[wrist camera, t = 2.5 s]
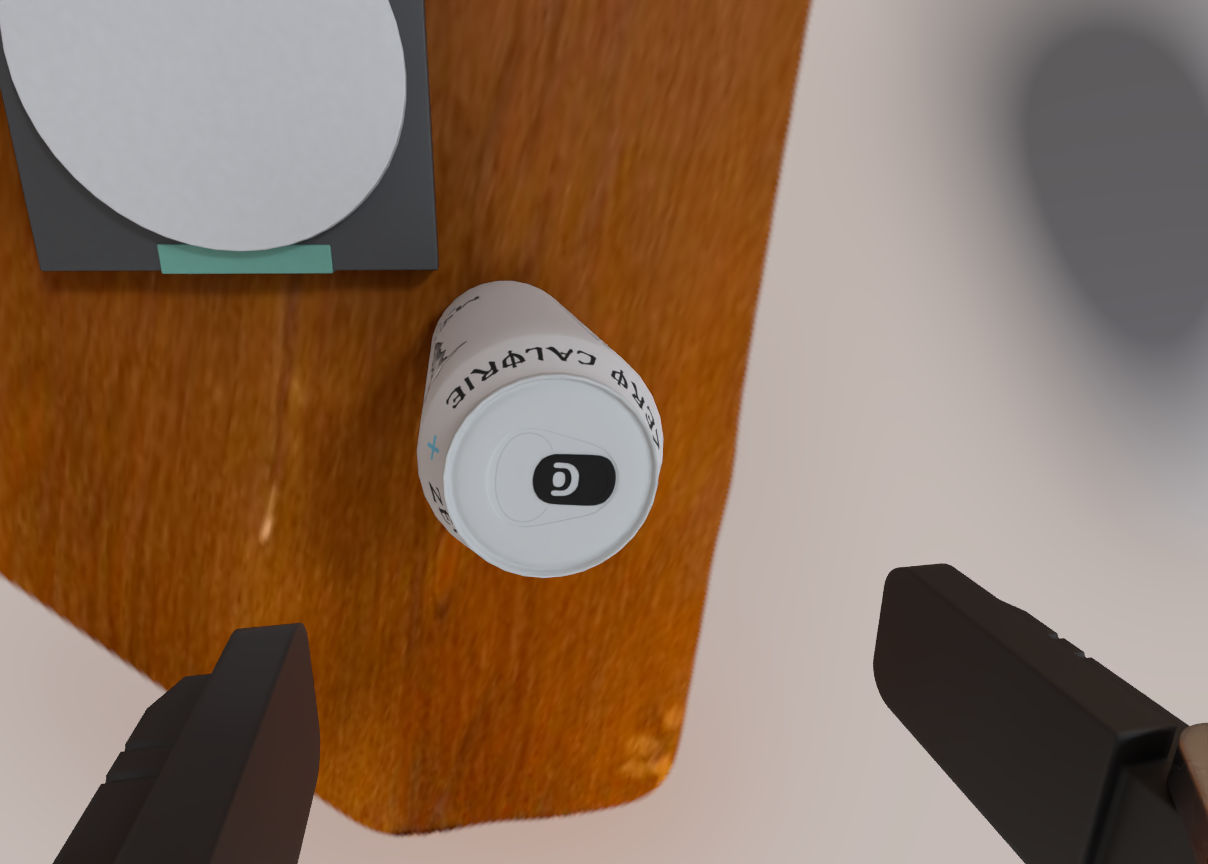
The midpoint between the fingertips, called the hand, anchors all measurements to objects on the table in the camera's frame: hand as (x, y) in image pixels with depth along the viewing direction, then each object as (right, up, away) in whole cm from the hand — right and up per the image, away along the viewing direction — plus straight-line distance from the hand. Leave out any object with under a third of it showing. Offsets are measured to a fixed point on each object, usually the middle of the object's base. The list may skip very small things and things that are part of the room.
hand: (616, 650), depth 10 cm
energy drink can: (-4, +6, +20) cm, 22 cm away
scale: (-13, +15, +15) cm, 25 cm away
